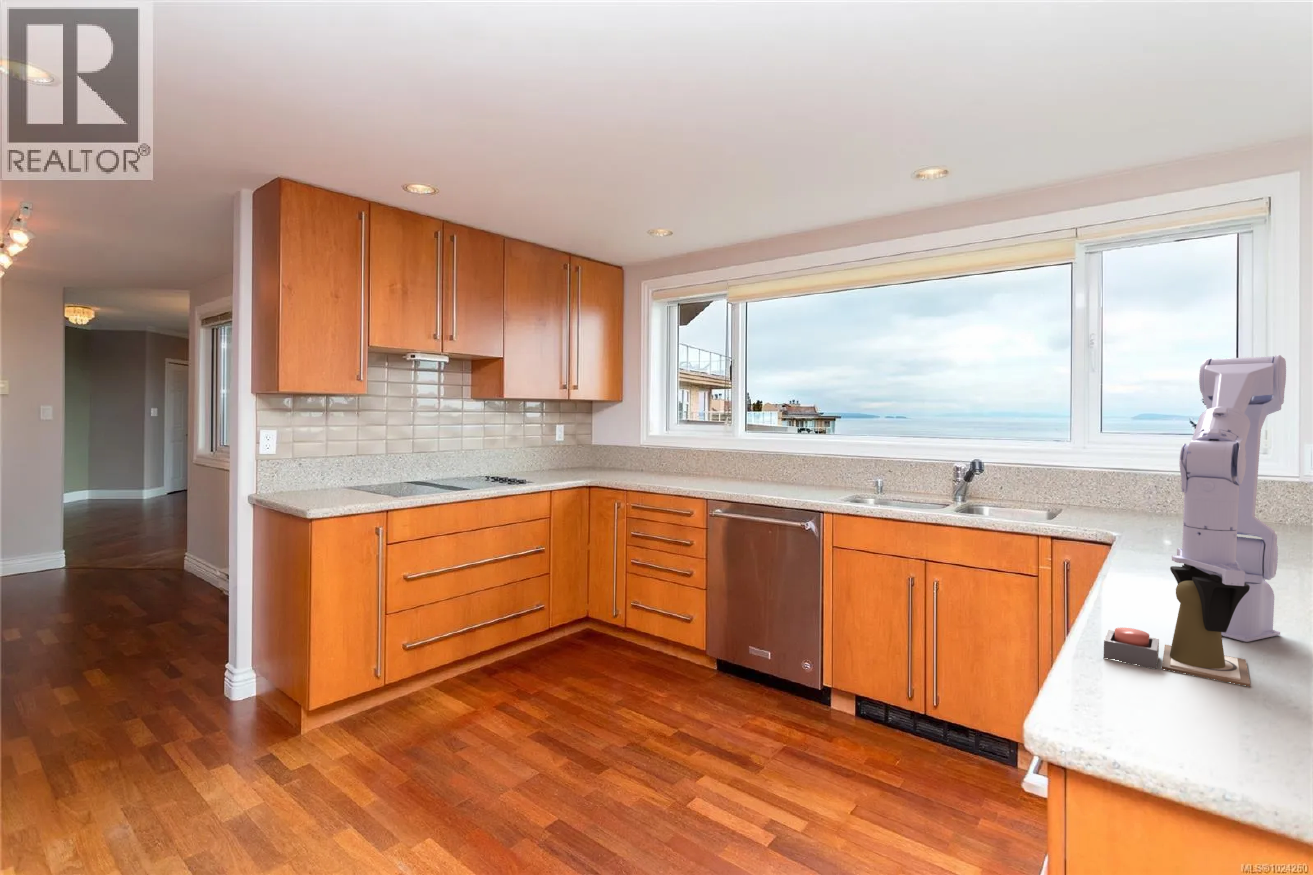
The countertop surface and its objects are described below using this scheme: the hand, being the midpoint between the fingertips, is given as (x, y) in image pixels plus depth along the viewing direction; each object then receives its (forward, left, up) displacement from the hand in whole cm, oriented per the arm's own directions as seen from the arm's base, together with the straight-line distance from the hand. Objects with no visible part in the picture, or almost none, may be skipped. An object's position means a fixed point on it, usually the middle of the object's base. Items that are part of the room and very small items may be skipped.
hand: (1205, 624), depth 90 cm
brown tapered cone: (+1, -1, -5) cm, 5 cm away
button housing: (+6, -6, -6) cm, 10 cm away
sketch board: (0, 0, -6) cm, 6 cm away
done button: (+6, -6, -4) cm, 9 cm away
